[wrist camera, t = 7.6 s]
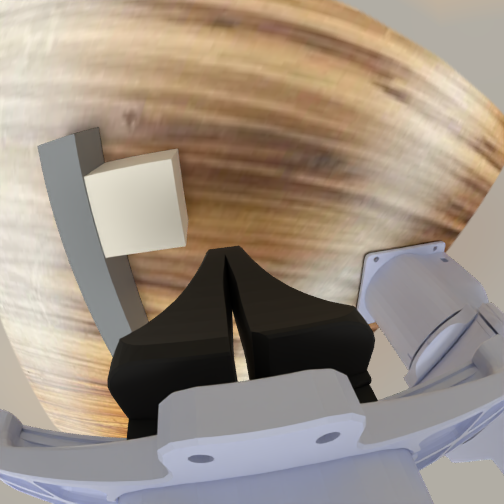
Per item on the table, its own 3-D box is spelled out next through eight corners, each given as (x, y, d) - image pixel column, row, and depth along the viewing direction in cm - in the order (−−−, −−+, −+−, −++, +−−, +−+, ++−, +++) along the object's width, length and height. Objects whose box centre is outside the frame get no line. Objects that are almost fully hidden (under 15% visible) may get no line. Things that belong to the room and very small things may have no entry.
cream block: (178, 148, 17) (171, 159, 14) (188, 219, 20) (185, 246, 16) (105, 162, 17) (83, 176, 13) (120, 230, 19) (105, 257, 16)
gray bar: (98, 127, 16) (74, 133, 12) (149, 323, 23) (143, 358, 20) (66, 136, 15) (37, 146, 12) (122, 326, 23) (114, 359, 20)
